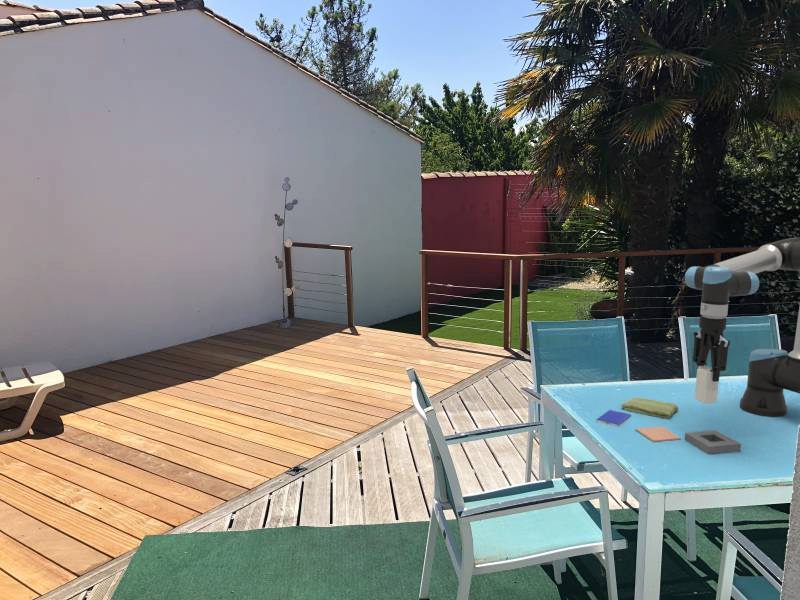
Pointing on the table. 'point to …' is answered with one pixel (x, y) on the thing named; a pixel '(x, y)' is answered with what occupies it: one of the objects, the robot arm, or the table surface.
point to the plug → (704, 387)
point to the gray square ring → (712, 442)
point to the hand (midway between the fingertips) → (706, 387)
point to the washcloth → (650, 407)
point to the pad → (658, 434)
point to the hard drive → (614, 418)
